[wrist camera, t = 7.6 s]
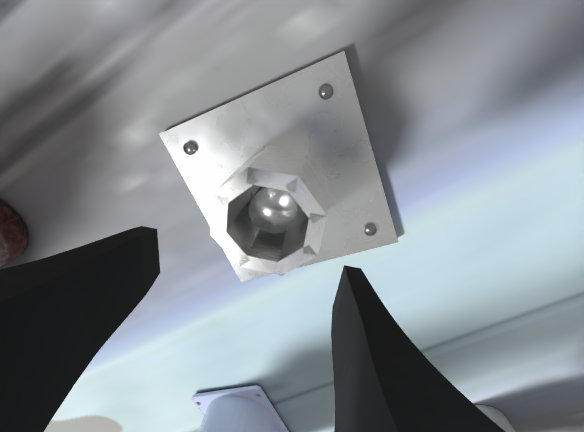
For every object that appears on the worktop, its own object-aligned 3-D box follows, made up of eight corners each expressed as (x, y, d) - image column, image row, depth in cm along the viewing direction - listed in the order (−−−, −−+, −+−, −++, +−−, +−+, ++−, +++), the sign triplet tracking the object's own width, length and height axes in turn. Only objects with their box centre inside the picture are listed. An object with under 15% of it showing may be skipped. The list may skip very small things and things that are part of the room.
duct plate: (397, 238, 20) (411, 273, 16) (243, 278, 23) (226, 315, 19) (343, 51, 15) (347, 43, 12) (163, 132, 18) (122, 145, 15)
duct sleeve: (334, 155, 17) (334, 182, 13) (314, 243, 20) (309, 290, 15) (243, 139, 17) (212, 160, 13) (236, 228, 20) (209, 270, 16)
